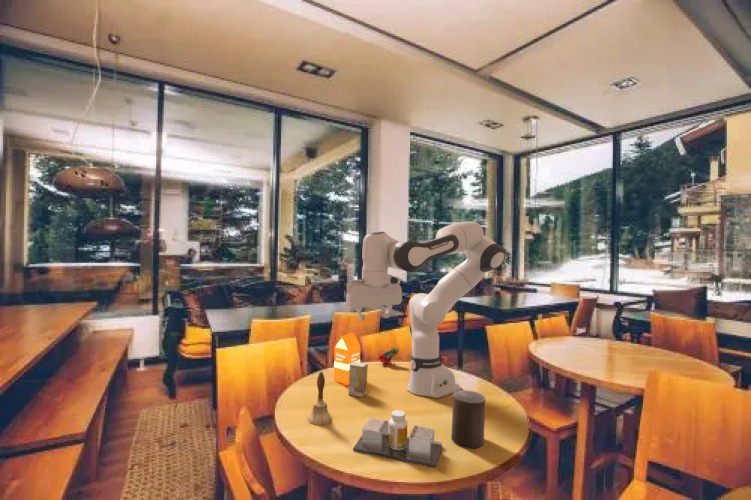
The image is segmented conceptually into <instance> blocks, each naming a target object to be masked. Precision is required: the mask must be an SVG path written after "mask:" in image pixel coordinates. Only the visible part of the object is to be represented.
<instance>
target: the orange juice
mask: <svg viewBox="0 0 751 500" xmlns="http://www.w3.org/2000/svg"><path fill="white" fill-rule="evenodd" d="M333 353H334V355H333V361H334V362H333V382H337V383H341V384H343V385H347V386H349V370H350V364H351V363H352V362H354V361H355V362H361V345H360V343H359V340H358V339H357V336H356V335H355V332H351V333H348V334H345V335H341V337H340V338H339V340H338V341H337V343H336V345H335V346H334V352H333Z"/></svg>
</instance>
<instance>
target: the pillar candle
mask: <svg viewBox="0 0 751 500" xmlns="http://www.w3.org/2000/svg"><path fill="white" fill-rule="evenodd" d="M452 394H453V396H452V413H451V414H452V416H451V417H452V420H451V435H450V436H451V440H452V442H453V443H454V444H455V445H457V446H459V447H461V448H466V449H469V450H470V449H479V448H481V447H483V446H484V444H485V418H486V417H485V416H486V397H485V396H484V395H483V394H482V393H479V392H477V391H473V390H466V389H465V390H463V389H461V390H459V391H456V392H453V393H452Z"/></svg>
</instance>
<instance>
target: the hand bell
mask: <svg viewBox="0 0 751 500" xmlns="http://www.w3.org/2000/svg"><path fill="white" fill-rule="evenodd" d="M325 381H326V380H325V376H324V372H322V371H320V372H319V373H318V376H317V380H316V384H317V385H316V386H317V392H318V393H317V401H314V402H313V407H312V410H311V413H310V414H309V415H308V417H307V422H308V423H309V424H312V425H317V426H318V425H319V426H320V425H326V424H328V423H330V422H331V421H332V420H333V416H332V415H331V413H330V412H329V411H328V404H327V402H326V401H325V400H324V388H325V383H326V382H325Z"/></svg>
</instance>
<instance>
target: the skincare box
mask: <svg viewBox="0 0 751 500" xmlns="http://www.w3.org/2000/svg"><path fill="white" fill-rule="evenodd" d="M368 366H369V365H368V363H364V362H361V361H360V362H355V361H354V362H352V363H351V364H350V370H349V384H348V395H349V396H353V397H359V398H363V397H365V395H366V394H367V390H368V389H367V387H368Z"/></svg>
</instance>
